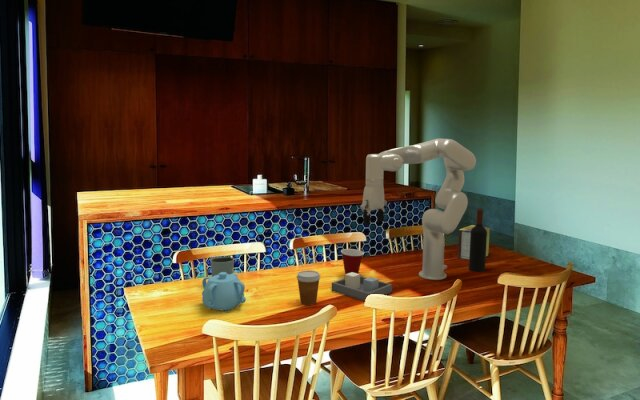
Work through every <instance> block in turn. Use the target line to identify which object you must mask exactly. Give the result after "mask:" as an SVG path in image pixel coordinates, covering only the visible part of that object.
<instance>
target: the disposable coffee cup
mask: <svg viewBox="0 0 640 400" xmlns="http://www.w3.org/2000/svg"><path fill="white" fill-rule="evenodd" d="M320 279H321V274H320V273H319V271H315V270H301V271H299V272H298V273H297V275H296V280H297V285H298V293H299V300H300V304H301V305H303V306H315V305H316V303H317V302H318V301H317V300H318V299H317V298H318V292H319V283H320Z"/></svg>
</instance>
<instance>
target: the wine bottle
mask: <svg viewBox="0 0 640 400" xmlns="http://www.w3.org/2000/svg"><path fill="white" fill-rule="evenodd" d="M483 218H484V209H483V208H477V209H476V220H475V221H476V222H475V223H476V224H475V227H473V228H472V229H471V236H470V256H469V260H468V270H469V271H470V272H472V273H473V272H475V273H483V272H485V271H486V260H487V256H486V243H487V230H486V229H485V228H484V227H485V226H483V221H484V219H483Z"/></svg>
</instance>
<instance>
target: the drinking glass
mask: <svg viewBox="0 0 640 400" xmlns="http://www.w3.org/2000/svg"><path fill="white" fill-rule="evenodd" d="M209 261H210V262H209V263H210V269H211V277H213V276H215V275H219V273H221V272H226V273H227V274H234V266H235V265H234V263H235V258H234V257H231V256H216V257H212V258H210V260H209Z"/></svg>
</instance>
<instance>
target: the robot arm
mask: <svg viewBox="0 0 640 400" xmlns="http://www.w3.org/2000/svg"><path fill="white" fill-rule="evenodd" d="M439 158H441V159H442V158H443V163H444V166H445V170H446V176H445V179H444V182H443V183H442V185H441V187H440V189H439V191H438V192H437V194H436V196H435V204H436V206H437V207H438V208H440V209H443V210H440V209H437V208H430V209H427V210H425V211H424V212H423V215H422V218H421V225H422V230H423V231H422V233H423V240H422V241H423V243H422V244H423V245H422V269H421V270H420V271H419V272H418V276H419V277H420V278H422V279H424V280H431V281H440V280H441V281H442V280H444V279H446V278H447V273H445V272H444V270H446V269H448V266H447V265H446V264H444V263H445V262H444V259H445V256H444V255H445V243H446V242H445V240H446V239H445V235H449V234H451V233H453V232H454V231H455V230H456V229H457V227H458V225H459V223H460V222H461V220H462V218H463V216H464V214H465V212H466V210H467V207H468V203H469V201H468V197H467V195H466V194H465V193H464V192H462V189H463V186H464V184H465V173H464V171H465V172H468V171H471V170H473V169H474V168H475V167H476V164H477V158H476V156H475V154H474V153H473V152H472V151H470V150H469V149H468V148H466V147H465V146H463V145H462V144H460V143H459V142H458V141H456V140H454V139H451V138H434V139H431V140H427V141H424V142H420V143H417V144H413V145H412V144H411V145H406V146H402V147H396V148H391V149H388V150H384V151H381V152H380V153H371V154H370V153H369V154H367V156H366V158H365V186H364V188H363V193H362V194H363V195H362V203H361V205H360V206H359V207H360V210H361V213H362V215H363V217H362V218H363V220H362V221H363V224H364V225H371V215H370V213H371V212H372V211H376V210H378V211H377V214H376V215H377V217H376V218H377V219H376V220H377V221H379V222H384V221H385V212H386V208H387V205H388V201H387V200H386V199H385V189H384V176H385V175H384V171H388V172H398V171H400V170H401V168H402V167H403V165H415V164H422V163H423V164H424V163H425V162H429V161H433V160H436V159H439Z"/></svg>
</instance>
